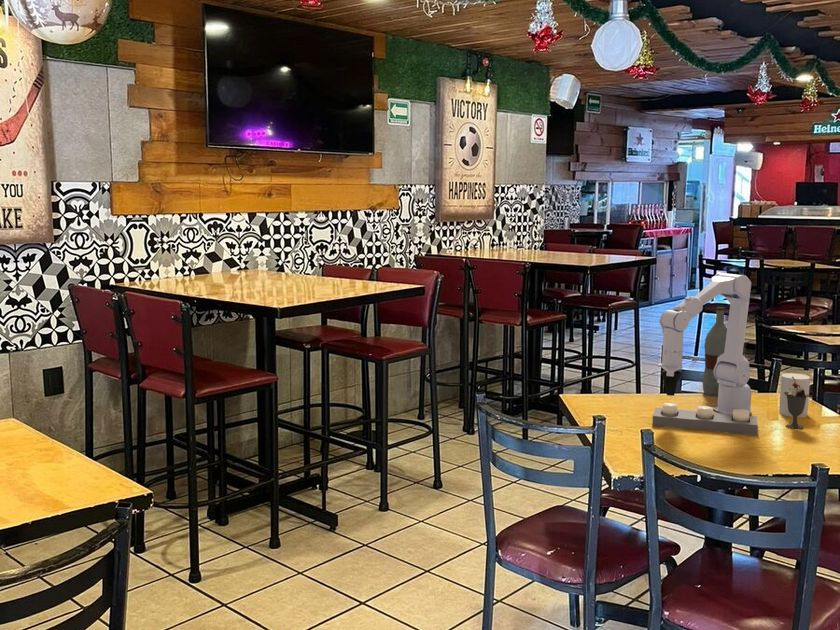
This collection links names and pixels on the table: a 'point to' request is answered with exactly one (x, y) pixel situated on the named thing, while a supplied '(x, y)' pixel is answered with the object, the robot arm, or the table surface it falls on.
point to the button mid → (705, 412)
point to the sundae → (795, 403)
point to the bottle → (714, 352)
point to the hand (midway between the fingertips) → (670, 395)
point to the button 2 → (741, 415)
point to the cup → (785, 386)
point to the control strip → (705, 422)
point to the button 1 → (669, 409)
